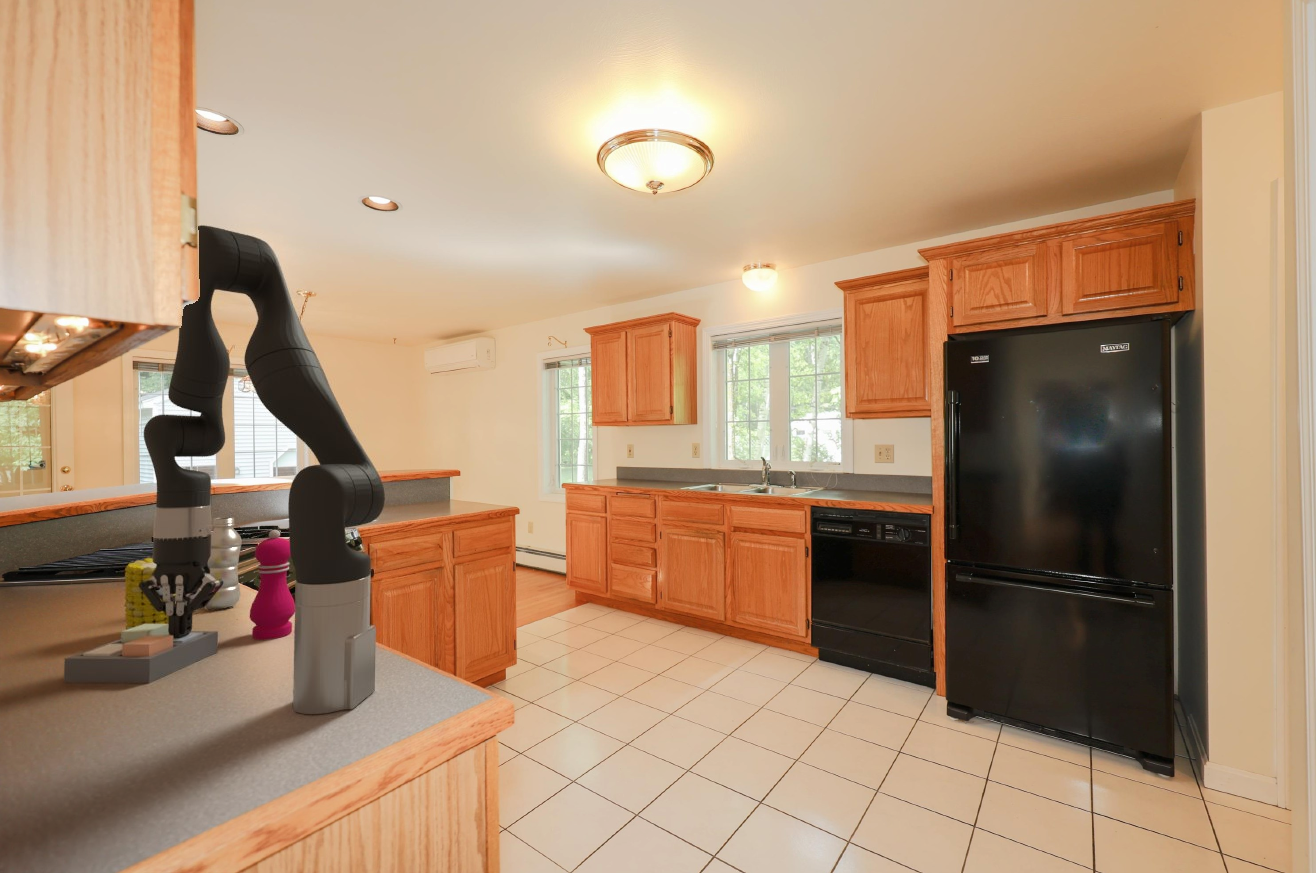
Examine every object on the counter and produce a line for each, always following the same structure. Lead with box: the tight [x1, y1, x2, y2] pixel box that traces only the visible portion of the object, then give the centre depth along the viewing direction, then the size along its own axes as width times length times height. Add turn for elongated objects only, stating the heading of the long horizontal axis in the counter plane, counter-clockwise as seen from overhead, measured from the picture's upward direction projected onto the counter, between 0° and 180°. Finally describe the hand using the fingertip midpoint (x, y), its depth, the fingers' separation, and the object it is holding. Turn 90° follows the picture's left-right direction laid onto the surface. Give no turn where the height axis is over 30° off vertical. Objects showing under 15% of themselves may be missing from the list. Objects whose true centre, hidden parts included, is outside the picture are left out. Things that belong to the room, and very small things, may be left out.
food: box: [123, 557, 187, 630], centre depth 108 cm, size 15×12×10 cm
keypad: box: [63, 630, 219, 684], centre depth 91 cm, size 13×13×4 cm
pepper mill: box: [249, 529, 295, 641], centre depth 107 cm, size 7×7×20 cm
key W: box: [120, 624, 169, 643], centre depth 94 cm, size 4×4×3 cm
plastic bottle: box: [204, 517, 243, 610], centre depth 126 cm, size 6×7×20 cm
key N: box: [83, 644, 122, 656], centre depth 88 cm, size 4×4×3 cm
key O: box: [173, 632, 203, 643], centre depth 94 cm, size 4×4×3 cm
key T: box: [122, 635, 173, 656], centre depth 88 cm, size 4×4×3 cm
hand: (180, 636), depth 94 cm, fingers closed
